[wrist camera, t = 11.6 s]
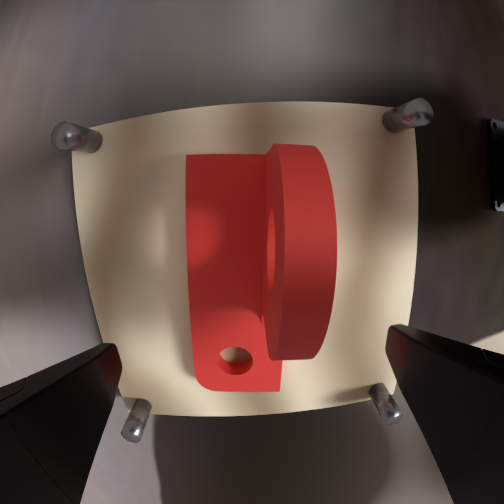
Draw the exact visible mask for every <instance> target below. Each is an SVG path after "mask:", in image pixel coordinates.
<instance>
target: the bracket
mask: <svg viewBox="0 0 504 504" xmlns="http://www.w3.org/2000/svg"><path fill="white" fill-rule="evenodd" d="M186 249H187V275H188V294H189V310H190V324H191V337H192V349H193V360H194V370H195V377H196V380H197V381H198V383H199V384H200V385H201V386H203V387H204V388H206V389H208V390H211V391H220V392H280V384H281V373H282V361H283V360H308V359H313V358H314V357H315V356H316V355H317V354H318V352H319V351H320V349H321V347H322V344H323V342H324V339H325V336H326V333H327V330H328V326H329V322H330V318H331V313H332V307H333V301H334V294H335V285H336V272H337V223H336V211H335V202H334V195H333V190H332V184H331V180H330V176H329V172H328V169H327V165H326V163H325V160H324V158H323V156H322V154H321V152H320V151H319V149H318V148H317V147H315V146H312V145H297V144H278V143H274V144H273V145H272V147H271V148H270V150H269V151H268V152H267V154H191V155H186ZM229 347H241V348H243V349H245V350H247V351H248V352H249V353H250V354H251V357H250V358H249V359H248V360H246V361H245V362H242V363H230V362H228V361H226V360H224V359H223V358H222V356H221V355H220V352H221V351H222V350H224V349H226V348H229Z"/></svg>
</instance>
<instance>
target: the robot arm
mask: <svg viewBox="0 0 504 504" xmlns="http://www.w3.org/2000/svg"><path fill="white" fill-rule="evenodd" d="M487 128H488V136H489V147H490V161H491V206H492V208H493V210H496V211H504V122H502V121H499V120H496V119H489V120H488V121H487ZM385 352H386V355H387V358H388V360H389V363H390V365H391V368H392V370H393V373H394V375H395V378H396V381H397V383H398V386H399V388H400V390H401V392H402V394H403V396H404V398H405V399H406V401H407V403H408V405H409V407H410V409H411V411H412V413H413V415H414V417H415V419H416V421H417V423H418V425H419V427H420V429H421V431H422V433H423V435H424V437H425V439H426V441H427V444H428V446H429V448H430V450H431V452H432V454H433V456H434V458H435V461H436V463H437V465H438V467H439V470H440V472H441V474H442V476H443V479H444V481H445V483H446V485H447V488H448V491H449V493H450V495H451V498H452V500H453V503H454V504H504V355H503V354H500V353H496V352H492V351H489V350H485V349H483V350H482V349H481V348H478V347H475V346H471V345H468V344H465V343H461V342H458V341H455V340H451V339H448V338H445V337H442V336H438V335H435V334H432V333H429V332H425V331H422V330H419V329H416V328H413V327H409V326H406V325H403V324H396V325H391V326H390V327H389V328H388V332H387V339H386V345H385ZM122 369H123V367H122V362H121V359H120V355H119V352H118V349H117V346H116V345H115V344H114V343H102V344H100V345H98V346H95V347H93V348H91V349H89V350H87V351H84V352H82V353H80V354H78V355H75V356H73V357H71V358H69V359H66V360H64V361H62V362H60V363H57V364H55V365H53V366H51V367H48V368H46V369H44V370H41V371H39V372H37V373H34V374H32V375H30V376H28V377H25V378H23V379H20V380H18V381H16V382H13V383H11V384H8V385H6V386H3V387H0V504H80V502H81V499H82V495H83V492H84V488H85V485H86V482H87V479H88V476H89V472H90V469H91V466H92V463H93V460H94V457H95V454H96V451H97V448H98V445H99V443H100V440H101V437H102V434H103V431H104V429H105V426H106V423H107V420H108V418H109V415H110V412H111V410H112V407H113V404H114V400H115V396H116V392H117V389H118V385H119V381H120V377H121V374H122Z"/></svg>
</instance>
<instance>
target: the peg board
mask: <svg viewBox="0 0 504 504" xmlns="http://www.w3.org/2000/svg"><path fill="white" fill-rule="evenodd" d="M432 120H433V110H432V107H431V105H430V104H429V103H428V102H427V101H426V100H425V99H422V98H416V99H414V100H411V101H409V102H407V103H404V104H402V105H400V106H398V107H395V108H393V107H385V106H375V105H365V104H352V103H336V102H255V103H239V104H226V105H215V106H205V107H197V108H189V109H181V110H174V111H168V112H162V113H156V114H150V115H145V116H140V117H134V118H130V119H125V120H120V121H116V122H112V123H107V124H103V125H99V126H95V127H91V128H85V127H82V126H78V125H75V124H71V123H67V122H61V123H59V124H57V125H56V126H55V128H54V129H53V131H52V134H51V143H52V145H53V147H54V148H56V149H61V150H70V151H72V168H73V183H74V196H75V206H76V215H77V223H78V230H79V237H80V244H81V250H82V255H83V261H84V266H85V272H86V276H87V281H88V286H89V290H90V295H91V299H92V303H93V307H94V311H95V315H96V319H97V323H98V326H99V330H100V333H101V337H102V340H103V343H114V344H115V345H116V346H117V349H118V352H119V355H120V359H121V362H122V367H123V369H122V374H121V377H120V381H119V385H118V387H119V390H120V393H121V395H122V398H123V400H124V403H125V405H126V408H127V410H128V411H129V412H130V413H129V415H128V418H127V420H126V422H125V424H124V427H123V429H122V431H121V435H122V436H123V437H124V438H125V439H126V440H128V441H130V442H134V443H137V442H139V441H140V439H141V436H142V434H143V431H144V428H145V425H146V423H147V420H148V417H149V415H150V414H162V415H181V416H245V415H262V414H275V413H286V412H297V411H305V410H313V409H320V408H327V407H333V406H339V405H345V404H350V403H356V402H361V401H366V400H370V399H372V401H373V403H374V405H375V407H376V408H377V410H378V412H379V414H380V416H381V418H382V420H383V422H384V424H385V425H386V426H393V425H395V424H397V423H398V422H399V421H400V420H401V419H402V416H403V414H402V412H401V411H400V409H399V407H398V405H397V404H396V402H395V401H394V399H393V398H392V396H391V395H392V394H393V393H394V389H395V385H396V382H397V381H396V378H395V375H394V373H393V370H392V368H391V365H390V363H389V360H388V358H387V355H386V352H385V345H386V339H387V332H388V328H389V327H390V326H391V325H396V324H403V325H406V326H408V323H409V316H410V310H411V303H412V295H413V286H414V277H415V266H416V253H417V235H418V170H417V152H416V139H415V129H414V128H415V127H419V126H423V125H427V124H429V123H431V122H432ZM274 143H278V144H297V145H312V146H315V147H317V148H318V149H319V151H320V152H321V154H322V156H323V158H324V160H325V163H326V165H327V169H328V172H329V176H330V180H331V184H332V190H333V195H334V202H335V211H336V223H337V272H336V285H335V294H334V301H333V307H332V313H331V318H330V322H329V326H328V330H327V333H326V336H325V339H324V342H323V344H322V347H321V349H320V351H319V352H318V354H317V355H316V356H315V357H314V358H313V359H308V360H283V361H282V373H281V384H280V392H220V391H211V390H208V389H206V388H204V387H203V386H201V385H200V384H199V383H198V381H197V380H196V377H195V370H194V360H193V349H192V337H191V324H190V310H189V294H188V275H187V249H186V155H191V154H267V152H268V151H269V150H270V148H271V147H272V145H273V144H274ZM220 355H221V356H222V358H223V359H224V360H226V361H228V362H230V363H242V362H245V361H246V360H248V359H249V358H250V357H251V354H250V353H249V352H248V351H247V350H245V349H243V348H241V347H229V348H226V349H224V350H222V351H221V352H220Z"/></svg>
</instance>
